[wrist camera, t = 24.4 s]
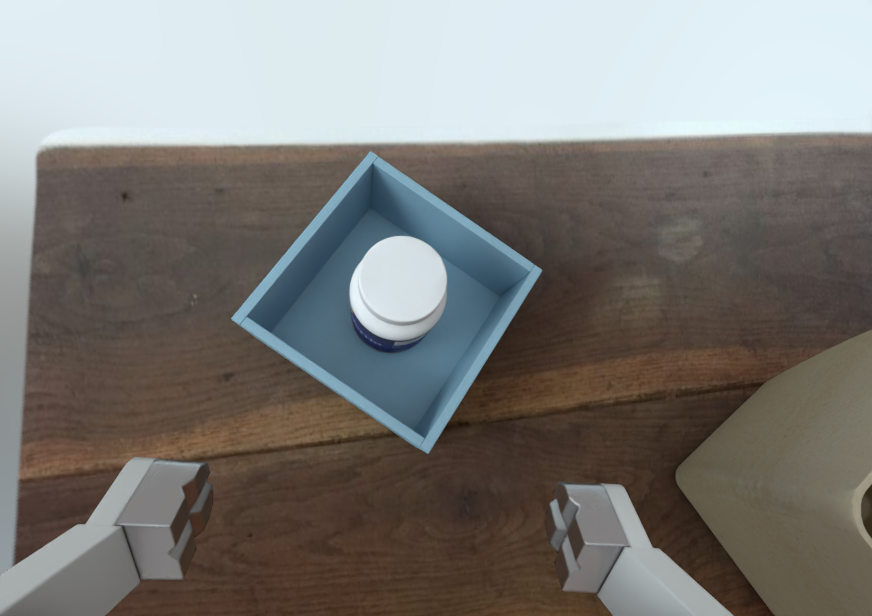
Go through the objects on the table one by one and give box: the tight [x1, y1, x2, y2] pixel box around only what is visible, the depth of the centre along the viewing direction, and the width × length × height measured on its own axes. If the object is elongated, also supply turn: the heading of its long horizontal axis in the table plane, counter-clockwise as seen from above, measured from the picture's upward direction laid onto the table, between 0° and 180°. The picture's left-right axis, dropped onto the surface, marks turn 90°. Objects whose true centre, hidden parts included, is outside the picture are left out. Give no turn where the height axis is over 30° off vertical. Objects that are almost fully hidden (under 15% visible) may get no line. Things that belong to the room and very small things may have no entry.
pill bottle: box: [349, 236, 447, 353], centre depth 29 cm, size 6×6×10 cm
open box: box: [231, 151, 542, 454], centre depth 31 cm, size 13×13×7 cm
